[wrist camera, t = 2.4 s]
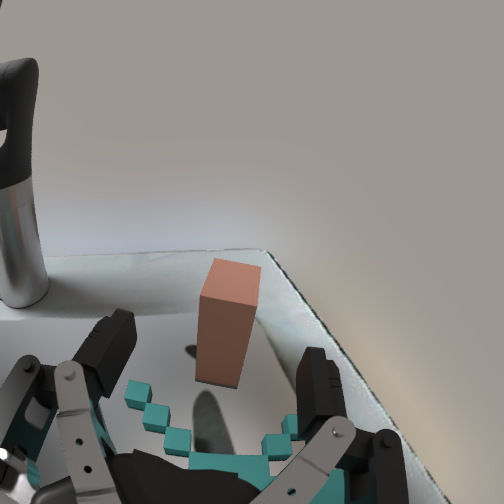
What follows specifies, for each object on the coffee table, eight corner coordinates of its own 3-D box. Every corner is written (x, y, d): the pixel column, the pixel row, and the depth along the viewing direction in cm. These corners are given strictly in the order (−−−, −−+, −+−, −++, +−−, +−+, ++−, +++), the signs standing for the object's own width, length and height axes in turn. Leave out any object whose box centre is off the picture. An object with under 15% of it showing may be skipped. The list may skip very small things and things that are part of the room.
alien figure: (132, 391, 24) (104, 561, 6) (129, 379, 23) (96, 562, 5) (317, 405, 26) (348, 564, 9) (324, 395, 25) (360, 564, 8)
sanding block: (195, 381, 26) (200, 295, 21) (205, 342, 32) (214, 258, 26) (236, 389, 26) (257, 306, 21) (242, 349, 32) (261, 266, 26)
